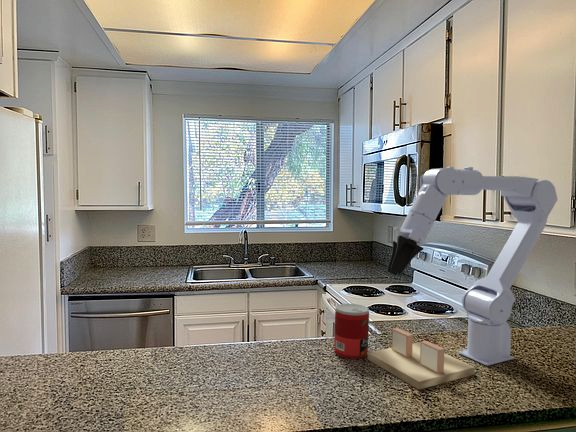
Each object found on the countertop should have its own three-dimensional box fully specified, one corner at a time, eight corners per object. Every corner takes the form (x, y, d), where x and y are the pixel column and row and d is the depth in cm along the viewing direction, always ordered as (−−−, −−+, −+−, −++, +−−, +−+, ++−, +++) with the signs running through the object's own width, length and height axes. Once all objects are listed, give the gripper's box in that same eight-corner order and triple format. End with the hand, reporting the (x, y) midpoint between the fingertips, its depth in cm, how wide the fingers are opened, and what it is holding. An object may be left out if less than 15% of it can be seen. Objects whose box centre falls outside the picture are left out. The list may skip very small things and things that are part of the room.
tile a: (396, 348, 97) (397, 327, 97) (412, 356, 93) (412, 334, 92) (391, 349, 96) (392, 328, 96) (406, 357, 92) (407, 335, 92)
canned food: (367, 361, 94) (369, 313, 93) (332, 357, 95) (333, 311, 95) (368, 348, 101) (369, 304, 100) (335, 345, 103) (336, 302, 102)
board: (419, 348, 102) (419, 342, 102) (474, 374, 88) (474, 367, 88) (367, 359, 95) (367, 352, 95) (418, 389, 80) (418, 381, 80)
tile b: (425, 363, 89) (426, 340, 89) (443, 372, 85) (444, 348, 84) (419, 364, 88) (420, 341, 88) (437, 373, 84) (438, 349, 84)
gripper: (400, 215, 98) (374, 265, 97) (408, 203, 84) (378, 262, 83) (427, 228, 96) (402, 280, 95) (441, 218, 82) (411, 279, 81)
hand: (393, 272), depth 89 cm, fingers open, 7 cm apart
